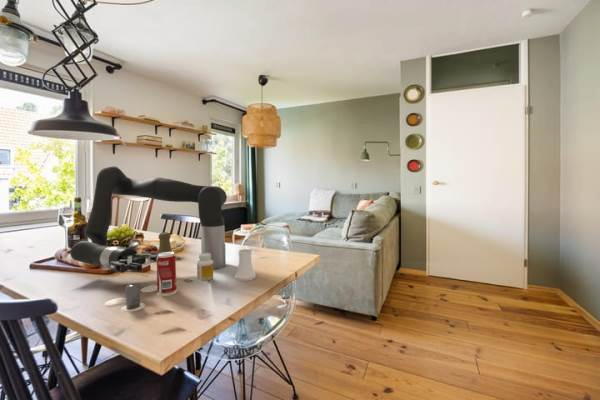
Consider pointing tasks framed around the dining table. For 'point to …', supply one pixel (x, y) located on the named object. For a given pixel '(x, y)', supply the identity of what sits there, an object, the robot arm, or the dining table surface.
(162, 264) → the soda can
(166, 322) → the dining table surface
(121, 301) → the white oval discs
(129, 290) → the pin
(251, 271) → the salt shaker
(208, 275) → the supplement bottle
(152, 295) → the dining table surface
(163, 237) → the olive green pepper shaker
